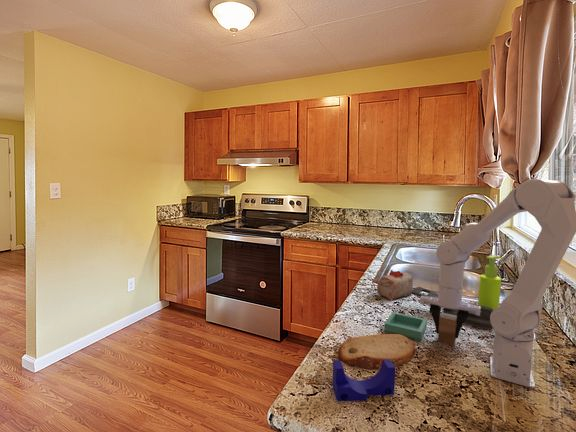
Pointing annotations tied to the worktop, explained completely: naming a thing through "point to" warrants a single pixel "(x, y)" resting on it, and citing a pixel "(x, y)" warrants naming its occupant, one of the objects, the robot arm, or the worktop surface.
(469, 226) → the robot arm
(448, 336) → the walnut post
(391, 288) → the food item
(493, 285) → the soap dispenser
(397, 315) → the teal well
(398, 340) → the bread slice
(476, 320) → the dark grey stapler
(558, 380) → the worktop surface
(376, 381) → the blue cradle
